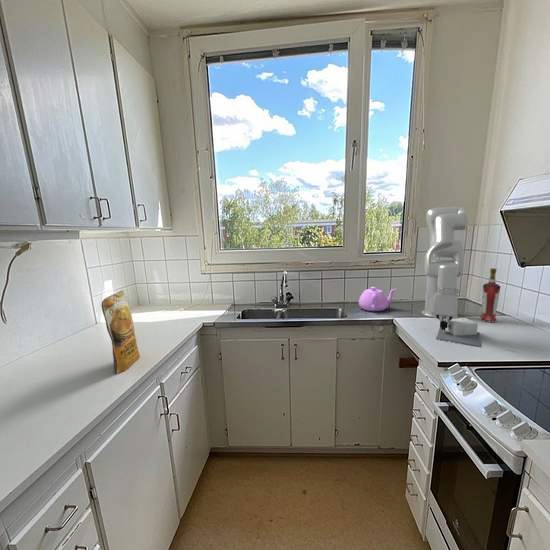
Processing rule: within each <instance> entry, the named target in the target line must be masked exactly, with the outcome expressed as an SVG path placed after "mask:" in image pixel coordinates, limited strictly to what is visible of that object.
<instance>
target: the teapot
mask: <svg viewBox="0 0 550 550" xmlns="http://www.w3.org/2000/svg"><path fill="white" fill-rule="evenodd" d="M396 290H397V288H393V289H391V290H390V291H389V295H388V297H386V296H387V295H385V293H384V292H383V290H381V289H377V287H376V286H371V287H370V288H368V289H364V290H363V292H362V294H361V295H360V296H359V300H358V305H359V307H360V308H361V309H362V310H365V311H369V312H382V311H385V310H386V309H387V307H388V306H389V304H391V303H392V300H393V294H394V292H395V291H396Z"/></svg>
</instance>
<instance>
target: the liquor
mask: <svg viewBox="0 0 550 550" xmlns="http://www.w3.org/2000/svg"><path fill="white" fill-rule="evenodd" d="M497 270H498V269H497V268H495V267H492V268H489V277H488V283H487V282H486V283H484V284H483V285H482V297H481V298H482V301H481V302H482V305H481V316H480V319H481V320H482V321H483V320H485V321H484V322H486V321H491V322H490V323H493V322H495V321H497V318H496V317H497V310H498V309H497V308H498V304H499V303H498V302H499V298H500V297H499V296H500V292H501V286H500V285H499V284H497V282H496V274H497ZM492 321H493V322H492Z"/></svg>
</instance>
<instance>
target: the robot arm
mask: <svg viewBox="0 0 550 550" xmlns="http://www.w3.org/2000/svg"><path fill="white" fill-rule="evenodd" d="M425 215H426V217H425V219H426V224H427V227H428V230H429V249H428V250H427V251H426V253H425V255H424V256H425V257H424V274H425V276H426V288H425V289H426V290H425V304H424V309H423V310H422V311H421V314H422V315H423V316H424V317H429V318H435V319H438V321H439V328H440V327H441V330H445V329H446V328H447V325H448V321H450V320H451V319H458V318H459V316H458V313H459V297H458V294H459V293H460V292H461V290H460V289H458V288H457V284H458V283H457V282H458V278H461V276H462V274H463V269H464V268H463V267H464V245H463V242H462V241H460V240H455V231H466V230H467V229H468V226H469V216H468V214H467V211H466V210H465V208H464V207H462V206H448V207H445V206H443V207H433V208H430V209H428V210H427V212H426V214H425ZM432 258H443V259H432ZM444 258H445V259H444ZM446 258H448V259H446ZM457 293H458V294H457ZM444 318H445V319H444Z"/></svg>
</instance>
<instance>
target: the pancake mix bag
mask: <svg viewBox="0 0 550 550" xmlns="http://www.w3.org/2000/svg"><path fill="white" fill-rule="evenodd" d="M101 311H102V314H103V317H104V320H105V326H106V330H107V334H108V336H109V338H110V340H111V345H112V358H113V373H115V374H119V373H122V372H126V371H127V370H128V369H129V368H131V367H132V366H133V365H134V363H136V362H137V361H138V360H139V359H140V358H141V355H140V351H139V347H138V343H137V337H136V333H135V326H134V319H133V315H132V312H131V308H130V306H129V303H128V300H127V297H126V294H125V292H124V291H123V290H120V291H118V292H116V293H112V294H111V295H109V296H107V297H105V298H104V299H103V300H102V301H101Z"/></svg>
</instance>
